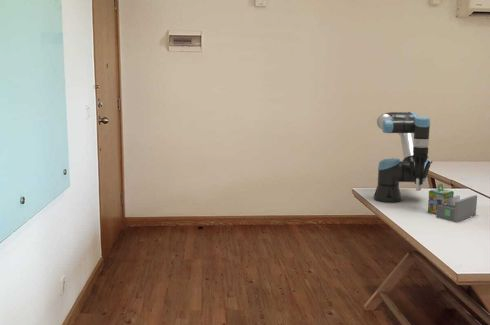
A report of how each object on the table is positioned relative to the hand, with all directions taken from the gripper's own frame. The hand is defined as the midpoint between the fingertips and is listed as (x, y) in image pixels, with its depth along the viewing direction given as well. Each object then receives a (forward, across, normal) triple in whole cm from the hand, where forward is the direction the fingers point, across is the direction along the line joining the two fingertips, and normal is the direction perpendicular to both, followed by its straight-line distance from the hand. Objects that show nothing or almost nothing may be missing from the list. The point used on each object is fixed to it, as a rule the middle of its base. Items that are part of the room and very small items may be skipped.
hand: (418, 190), depth 246 cm
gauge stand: (+10, +21, 0) cm, 23 cm away
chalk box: (+10, +13, 0) cm, 16 cm away
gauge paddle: (+9, +19, -1) cm, 21 cm away
